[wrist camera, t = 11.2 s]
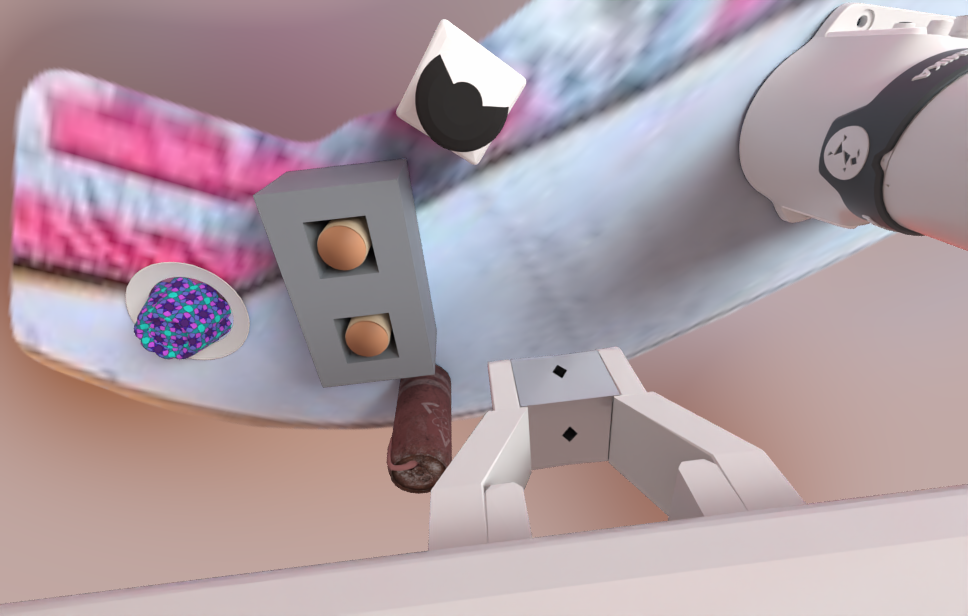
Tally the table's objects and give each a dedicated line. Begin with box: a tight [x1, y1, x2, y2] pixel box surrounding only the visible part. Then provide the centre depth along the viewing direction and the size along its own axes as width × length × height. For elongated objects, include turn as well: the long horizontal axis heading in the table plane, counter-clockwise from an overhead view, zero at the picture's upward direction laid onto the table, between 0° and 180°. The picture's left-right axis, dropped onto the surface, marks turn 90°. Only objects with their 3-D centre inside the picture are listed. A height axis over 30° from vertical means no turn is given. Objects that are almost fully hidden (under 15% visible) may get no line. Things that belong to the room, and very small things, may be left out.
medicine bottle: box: [396, 19, 526, 165], centre depth 32 cm, size 7×7×12 cm
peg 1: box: [317, 216, 372, 270], centre depth 39 cm, size 4×4×8 cm
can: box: [387, 365, 452, 493], centre depth 47 cm, size 6×6×14 cm
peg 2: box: [345, 313, 392, 357], centre depth 43 cm, size 4×4×8 cm
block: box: [253, 159, 437, 388], centre depth 41 cm, size 11×19×8 cm, turn 6°
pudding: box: [125, 262, 250, 360], centre depth 44 cm, size 12×12×5 cm
